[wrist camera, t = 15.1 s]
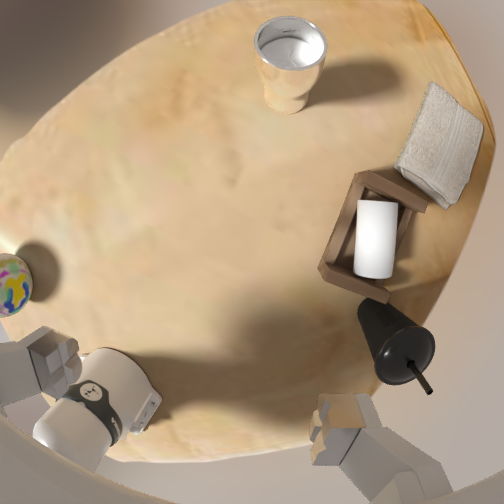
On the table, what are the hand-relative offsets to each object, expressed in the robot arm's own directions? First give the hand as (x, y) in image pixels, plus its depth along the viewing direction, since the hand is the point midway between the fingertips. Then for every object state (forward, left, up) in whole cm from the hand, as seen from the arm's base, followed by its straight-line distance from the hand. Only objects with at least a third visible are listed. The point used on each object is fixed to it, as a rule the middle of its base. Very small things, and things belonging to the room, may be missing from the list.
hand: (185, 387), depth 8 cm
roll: (+6, -14, -27) cm, 31 cm away
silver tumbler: (+20, +3, -31) cm, 37 cm away
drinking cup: (-4, -20, -31) cm, 37 cm away
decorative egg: (-25, +43, -31) cm, 59 cm away
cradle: (+6, -14, -31) cm, 35 cm away
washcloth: (+24, -21, -32) cm, 45 cm away
